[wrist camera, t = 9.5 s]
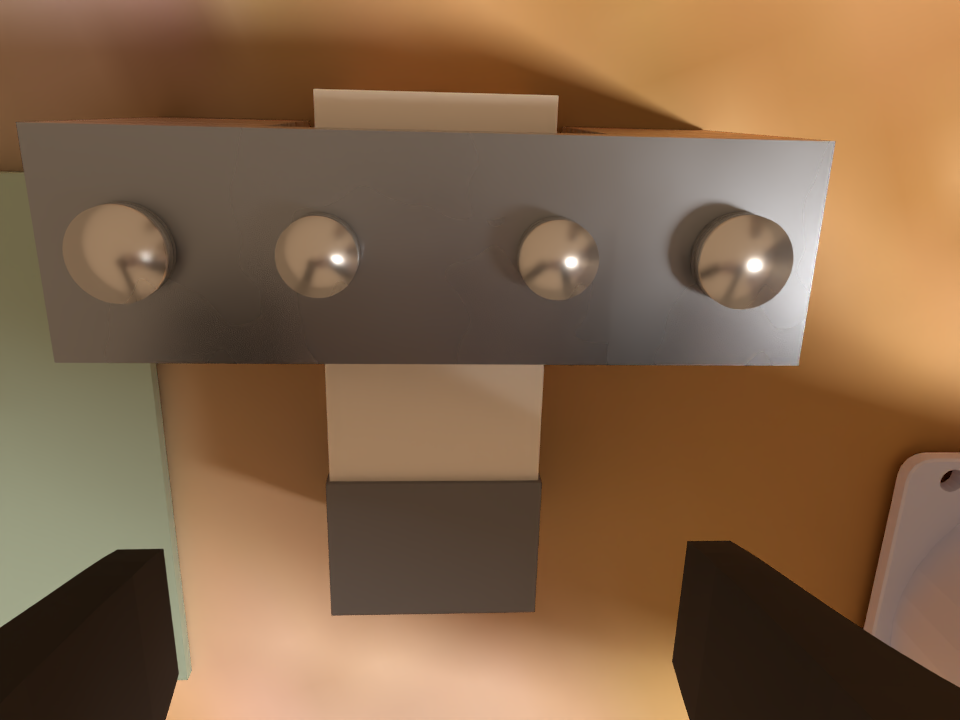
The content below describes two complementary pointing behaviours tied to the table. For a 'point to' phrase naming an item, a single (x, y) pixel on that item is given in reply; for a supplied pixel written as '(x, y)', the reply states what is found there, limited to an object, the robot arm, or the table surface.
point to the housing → (421, 243)
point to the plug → (433, 431)
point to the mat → (72, 446)
